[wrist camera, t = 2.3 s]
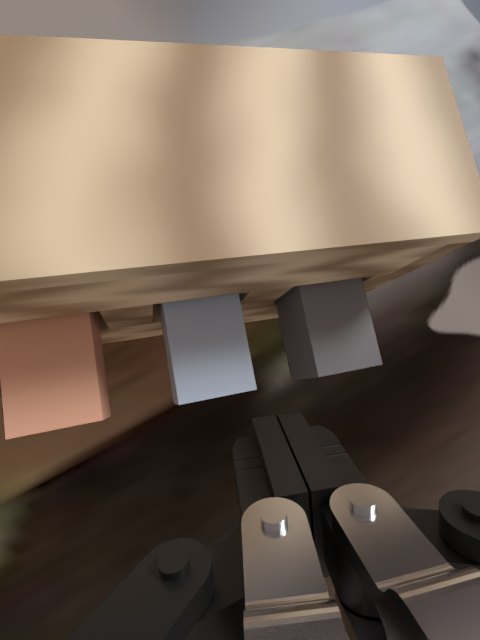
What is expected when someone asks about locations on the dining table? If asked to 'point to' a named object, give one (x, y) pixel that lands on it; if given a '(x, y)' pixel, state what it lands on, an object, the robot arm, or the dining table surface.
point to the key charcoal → (327, 329)
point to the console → (219, 175)
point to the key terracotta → (52, 374)
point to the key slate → (206, 348)
